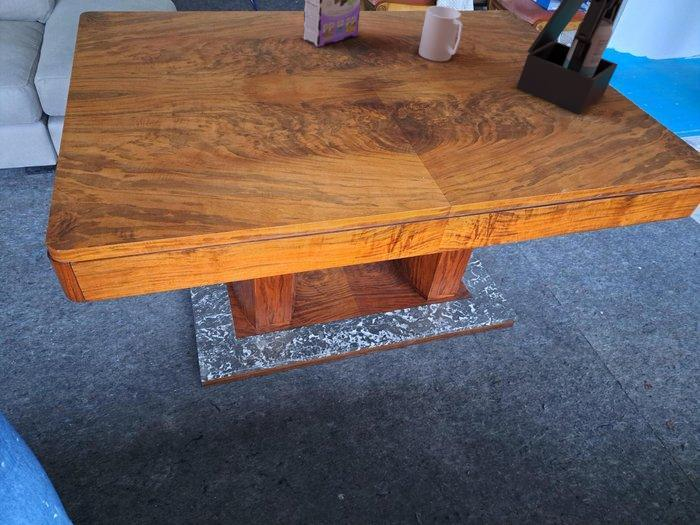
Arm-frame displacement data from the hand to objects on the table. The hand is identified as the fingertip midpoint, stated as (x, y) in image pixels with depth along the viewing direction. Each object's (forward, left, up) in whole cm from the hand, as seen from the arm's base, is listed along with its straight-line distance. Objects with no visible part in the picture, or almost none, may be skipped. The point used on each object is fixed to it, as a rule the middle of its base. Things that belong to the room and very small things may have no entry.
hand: (579, 66), depth 113 cm
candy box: (+55, +22, -7) cm, 60 cm away
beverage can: (0, 0, -2) cm, 2 cm away
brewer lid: (+7, 0, +9) cm, 11 cm away
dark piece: (+2, 0, -7) cm, 7 cm away
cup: (+31, +8, -7) cm, 33 cm away
